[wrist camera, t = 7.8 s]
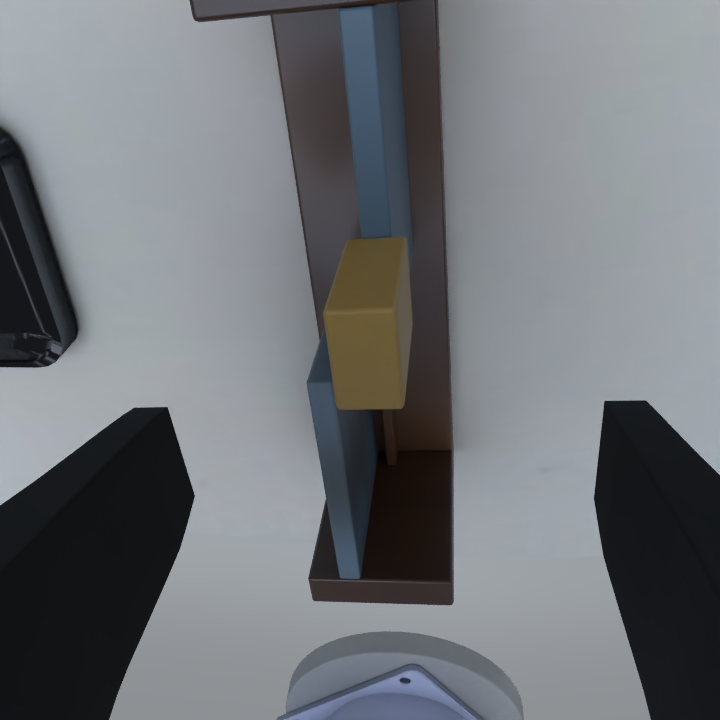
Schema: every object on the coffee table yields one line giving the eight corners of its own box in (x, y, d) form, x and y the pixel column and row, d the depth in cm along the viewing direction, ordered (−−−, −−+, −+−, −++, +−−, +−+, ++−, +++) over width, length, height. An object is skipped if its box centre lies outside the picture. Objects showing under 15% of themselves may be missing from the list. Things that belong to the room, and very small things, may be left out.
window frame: (268, -57, 17) (178, -45, 11) (435, -77, 16) (425, -73, 11) (342, 454, 25) (312, 602, 20) (453, 453, 24) (453, 606, 19)
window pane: (357, -16, 16) (280, 37, 9) (409, -21, 16) (373, 28, 9) (381, 249, 19) (339, 438, 12) (424, 247, 19) (406, 438, 12)
